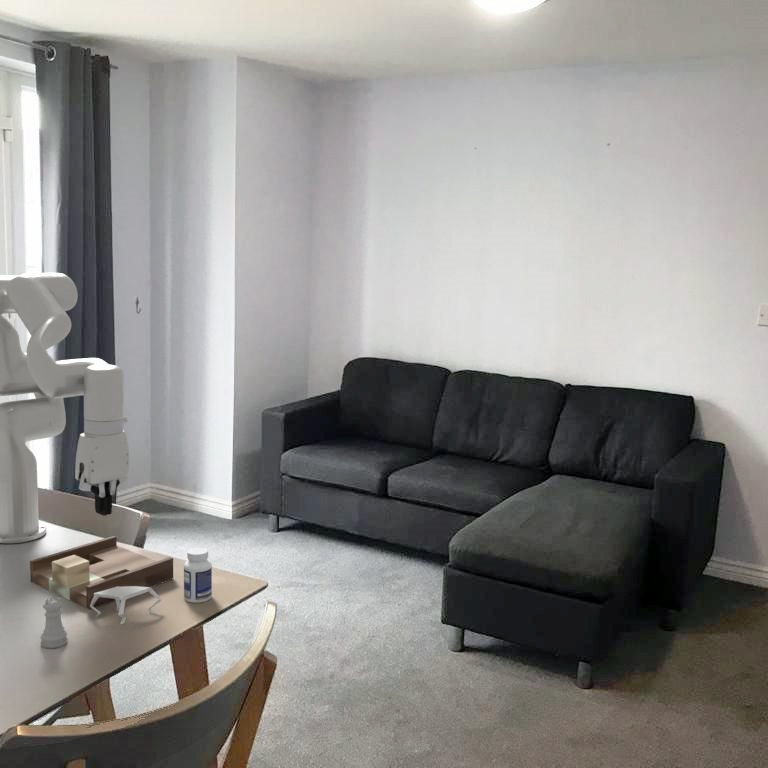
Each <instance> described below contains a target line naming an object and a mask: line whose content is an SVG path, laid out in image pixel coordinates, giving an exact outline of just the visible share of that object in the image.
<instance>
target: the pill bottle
mask: <svg viewBox="0 0 768 768" xmlns="http://www.w3.org/2000/svg"><path fill="white" fill-rule="evenodd" d="M212 568H213V567H212V562H211V560H210V559H209V550H208V549H207V548H205V547H194V548H190V549H188V550H187V560H186V561H185V562H184V564H183V597H184V600H185V601H186V602H189V603H193V604H194V603H195V604H196V603H197V604H198V603H205V602H208V601H209V600H210V599H211V598H212V595H213V593H212V591H213V590H212V589H213V588H212V587H213V585H212V582H213V581H212V578H213V575H212V572H213V571H212V570H213V569H212Z"/></svg>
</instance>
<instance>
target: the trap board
mask: <svg viewBox="0 0 768 768" xmlns="http://www.w3.org/2000/svg"><path fill="white" fill-rule="evenodd" d="M72 555H76V556H78V557H81V558H83V559H86V560H88V561H89V572H90V580H89V581H86V582H83V583H80V584H77V585H74V586H71V587H68V588H67V587H65V586H62V585H60V584H58V583H56V582H53V581H52V562H53V561H56V560H59V559H62V558H65V557H69V556H72ZM29 568H30V582H31V583H32V584H34V585H36V586H39V587H41V588H43V589H45V590H48V591H50V592H51V593H53V594H55V595H57V596H60V597H62V598H64V599H67V600H69V601H70V602H73V603H74V604H77V605H78V606H81V607H83V608H85V609H88V610H93V609H92V608H91V607H90V604H91V601H92V599H93V597H94V593H97V592H100V591H104V590H107V589H111V588H114V587H117V586H118V587H124V586H139V587H150V588H152V587H155V586H158V585H160V584H163V583H165V581H166V582H168V580H169V581H170V579H171V580H173V579H174V558H173V557H171V556H170V557H166V558H164V559H163V558H162V559H161V560H155V559H153V558H150V557H148V556H146V555H142V554H139V553H138V552H134V551H132V550H130V549H127V548H125V547H121V546H118V545H117V536H115V535H112V536H108V537H105V538H101V539H98V540H95V541H92V542H89V543H85V544H81V545H78V546H75V547H71V548H69V549H65V550H62V551H58V552H55V553H51V554H48V555H45V556H42V557H38V558H35V559H32V560H30V561H29ZM172 578H173V579H172ZM162 582H163V583H162ZM157 584H158V585H157ZM154 585H155V586H154ZM151 586H152V587H151ZM112 602H116V600H115V599H112V598H105V597H99V598H98V599H97V600H96V602H95V603H94V605H93V607H95V608H96V609H97V608H99V607H101V606H103V605H106V604H109V603H112Z"/></svg>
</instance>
